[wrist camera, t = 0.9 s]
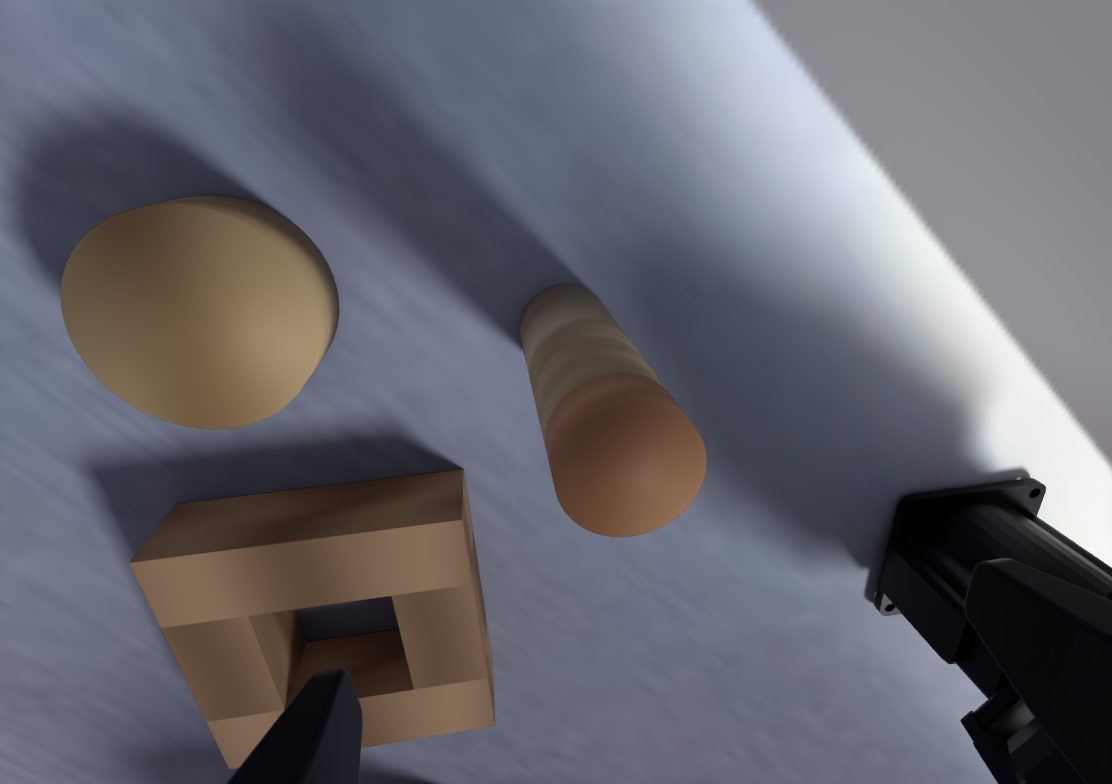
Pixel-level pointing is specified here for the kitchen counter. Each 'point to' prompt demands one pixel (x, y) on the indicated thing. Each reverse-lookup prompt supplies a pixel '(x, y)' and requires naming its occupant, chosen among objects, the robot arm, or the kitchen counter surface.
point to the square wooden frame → (321, 579)
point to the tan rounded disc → (200, 309)
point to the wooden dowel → (606, 419)
